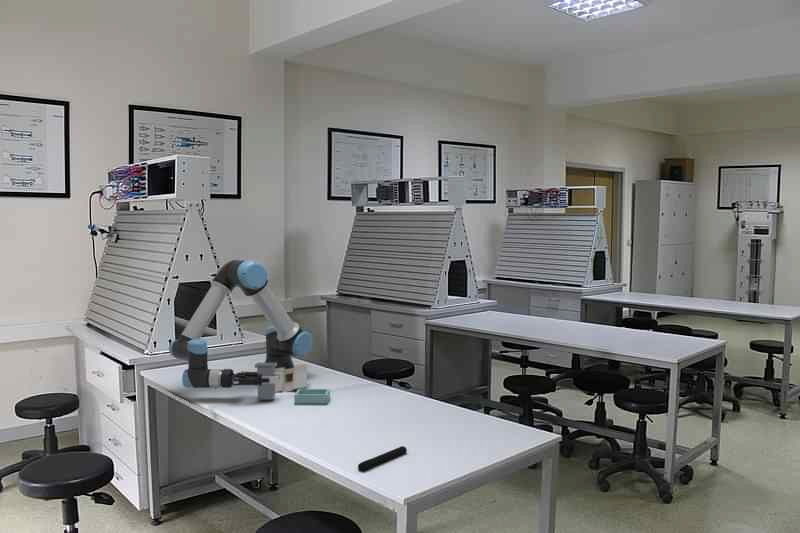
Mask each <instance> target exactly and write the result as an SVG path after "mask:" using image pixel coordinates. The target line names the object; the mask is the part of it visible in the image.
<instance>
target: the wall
mask: <svg viewBox="0 0 800 533" xmlns="http://www.w3.org/2000/svg"><path fill="white" fill-rule="evenodd" d="M275 373H281V380H278V383H275V393H278V392H282V393H287V392H292V391H293V390H296V389H297V390H298V389H305V388H307V387H308V364H307V363H306V364H297V365H294V368H291V369H285V367H282V368H276V369H275Z"/></svg>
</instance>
